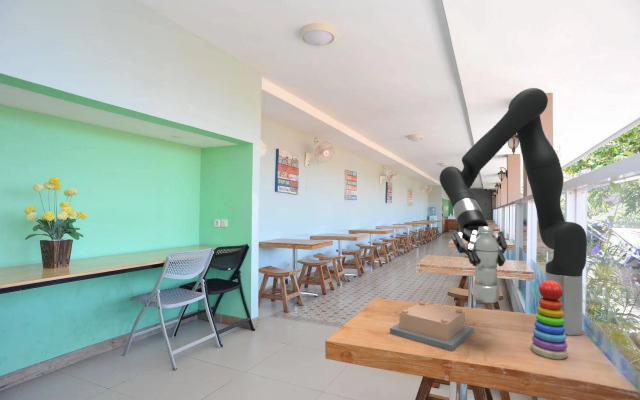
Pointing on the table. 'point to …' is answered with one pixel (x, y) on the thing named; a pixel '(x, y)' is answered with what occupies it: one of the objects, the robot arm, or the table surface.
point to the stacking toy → (550, 323)
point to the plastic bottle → (486, 266)
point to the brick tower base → (434, 340)
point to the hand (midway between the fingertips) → (489, 264)
